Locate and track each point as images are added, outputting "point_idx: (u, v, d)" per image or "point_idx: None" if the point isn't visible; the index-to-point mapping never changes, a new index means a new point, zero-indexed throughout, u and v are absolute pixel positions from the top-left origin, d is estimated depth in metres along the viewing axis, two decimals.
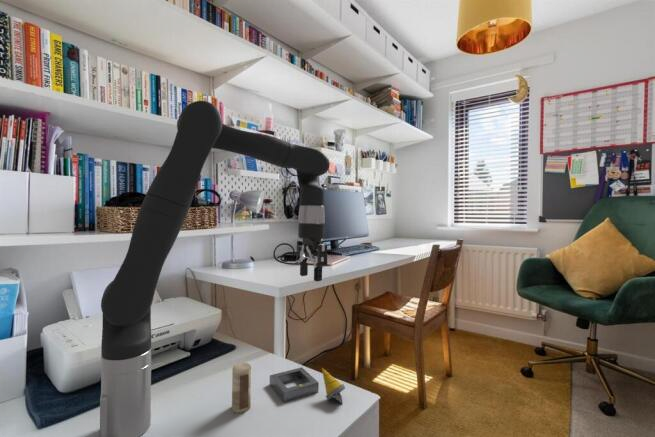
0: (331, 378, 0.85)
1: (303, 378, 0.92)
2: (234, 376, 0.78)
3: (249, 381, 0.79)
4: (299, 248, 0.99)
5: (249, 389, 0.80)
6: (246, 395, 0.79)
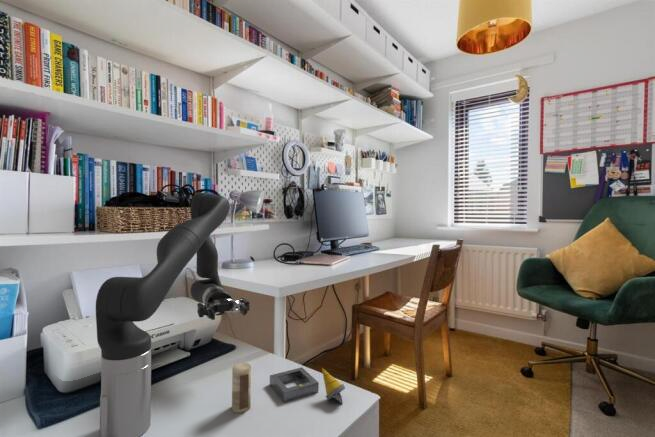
0: (331, 378, 0.85)
1: (303, 378, 0.92)
2: (234, 376, 0.78)
3: (249, 381, 0.79)
4: None
5: (249, 389, 0.80)
6: (246, 395, 0.79)
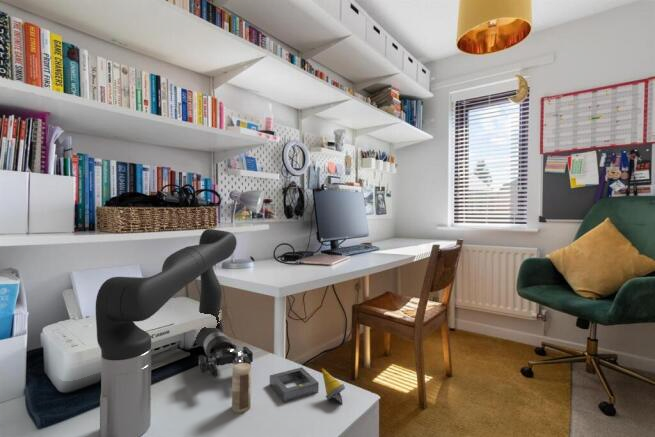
0: (331, 378, 0.85)
1: (303, 378, 0.92)
2: (234, 376, 0.78)
3: (249, 381, 0.79)
4: (204, 359, 0.91)
5: (249, 389, 0.80)
6: (246, 395, 0.79)
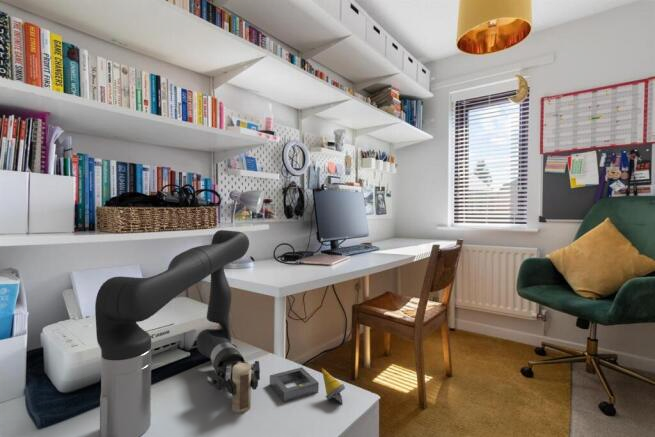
0: (331, 378, 0.85)
1: (303, 378, 0.92)
2: (234, 376, 0.78)
3: (249, 381, 0.79)
4: None
5: (249, 389, 0.80)
6: (246, 395, 0.79)
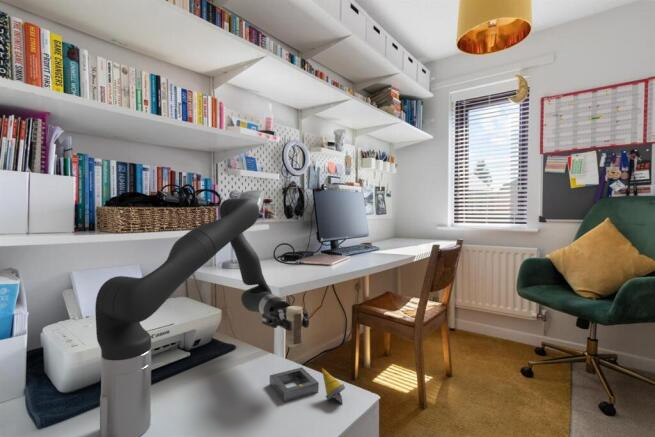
0: (331, 378, 0.85)
1: (303, 378, 0.92)
2: (289, 315, 0.88)
3: (301, 320, 0.89)
4: None
5: (301, 327, 0.89)
6: (299, 332, 0.88)
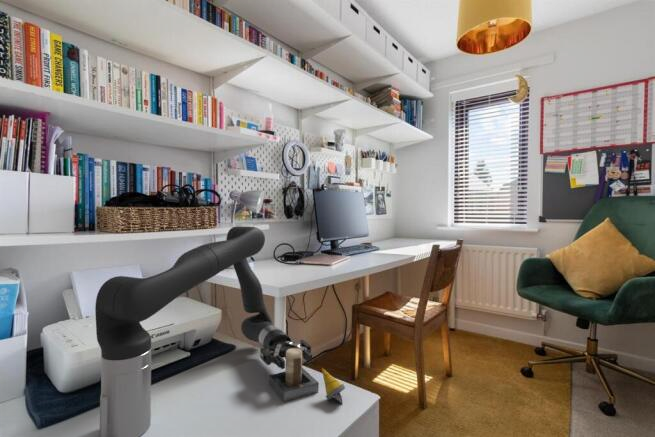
0: (331, 378, 0.85)
1: (303, 378, 0.92)
2: (288, 359, 0.88)
3: (301, 364, 0.89)
4: None
5: (301, 371, 0.89)
6: (299, 376, 0.88)
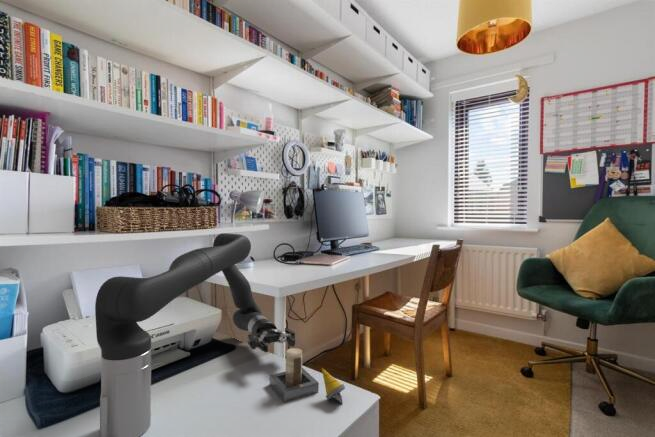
0: (331, 378, 0.85)
1: (303, 378, 0.92)
2: (288, 359, 0.88)
3: (301, 364, 0.89)
4: None
5: (301, 371, 0.89)
6: (299, 376, 0.88)
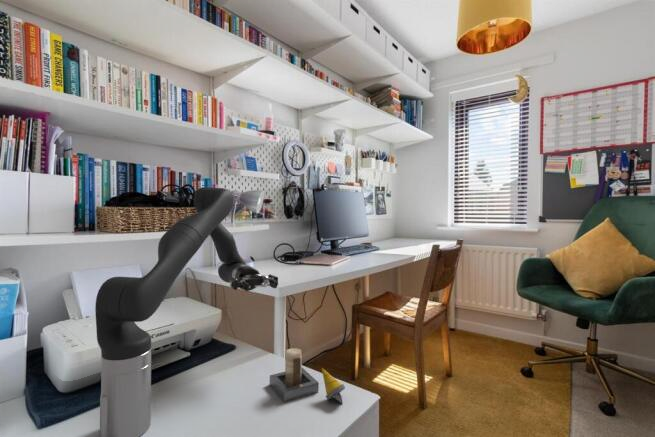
0: (331, 378, 0.85)
1: (303, 378, 0.92)
2: (288, 359, 0.88)
3: (300, 364, 0.89)
4: None
5: (300, 371, 0.89)
6: (299, 376, 0.88)
